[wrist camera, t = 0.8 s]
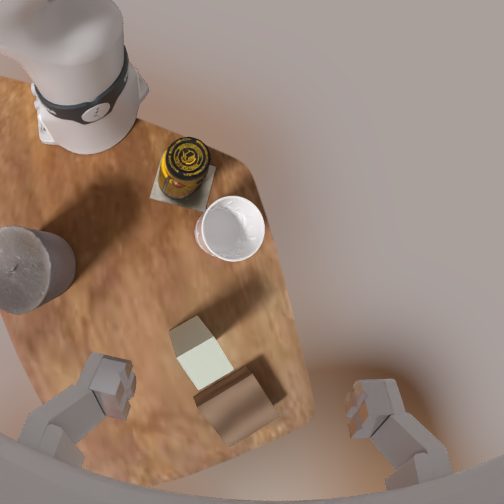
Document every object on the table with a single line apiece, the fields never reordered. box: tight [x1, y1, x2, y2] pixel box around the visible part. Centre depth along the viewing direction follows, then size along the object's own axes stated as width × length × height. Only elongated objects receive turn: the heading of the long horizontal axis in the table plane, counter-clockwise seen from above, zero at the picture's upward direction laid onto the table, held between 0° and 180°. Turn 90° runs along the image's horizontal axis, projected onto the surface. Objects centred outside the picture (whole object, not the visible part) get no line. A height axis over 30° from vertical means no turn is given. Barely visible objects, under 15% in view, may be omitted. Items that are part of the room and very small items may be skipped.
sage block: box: [169, 315, 234, 390], centre depth 40 cm, size 5×5×12 cm
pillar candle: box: [0, 226, 76, 315], centre depth 32 cm, size 10×10×15 cm
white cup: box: [194, 196, 265, 261], centre depth 42 cm, size 8×8×10 cm
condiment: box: [150, 137, 216, 212], centre depth 40 cm, size 7×8×12 cm
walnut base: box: [194, 366, 279, 447], centre depth 47 cm, size 10×10×4 cm
